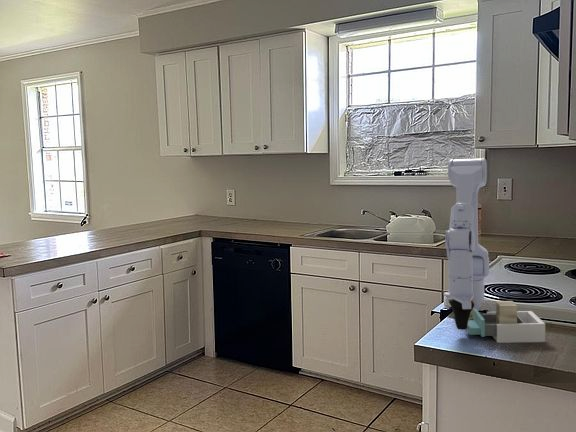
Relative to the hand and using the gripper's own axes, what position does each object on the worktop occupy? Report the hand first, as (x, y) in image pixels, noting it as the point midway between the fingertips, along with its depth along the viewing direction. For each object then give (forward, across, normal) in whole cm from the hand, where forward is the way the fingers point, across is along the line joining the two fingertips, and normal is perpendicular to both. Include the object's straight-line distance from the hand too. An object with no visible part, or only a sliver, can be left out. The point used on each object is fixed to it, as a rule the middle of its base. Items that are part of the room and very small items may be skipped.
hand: (461, 328), depth 136 cm
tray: (0, 0, +8) cm, 8 cm away
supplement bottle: (+2, -14, +3) cm, 15 cm away
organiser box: (+2, 0, +13) cm, 13 cm away
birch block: (0, 0, +11) cm, 11 cm away
